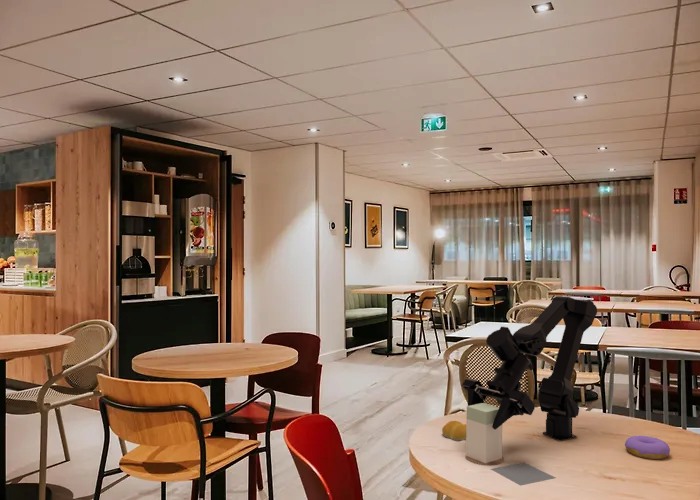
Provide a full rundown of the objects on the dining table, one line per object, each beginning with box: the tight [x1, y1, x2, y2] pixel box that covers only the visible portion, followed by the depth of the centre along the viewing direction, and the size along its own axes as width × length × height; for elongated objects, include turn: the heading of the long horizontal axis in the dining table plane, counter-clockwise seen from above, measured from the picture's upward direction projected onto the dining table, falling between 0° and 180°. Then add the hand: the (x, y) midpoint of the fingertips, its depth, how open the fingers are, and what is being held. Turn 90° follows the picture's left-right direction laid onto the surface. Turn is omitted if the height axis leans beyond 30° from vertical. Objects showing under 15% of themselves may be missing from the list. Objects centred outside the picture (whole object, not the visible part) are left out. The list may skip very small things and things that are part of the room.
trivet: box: [465, 455, 505, 466], centre depth 134 cm, size 9×9×1 cm
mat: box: [490, 461, 557, 486], centre depth 125 cm, size 10×10×1 cm
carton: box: [465, 402, 503, 463], centre depth 134 cm, size 6×6×12 cm
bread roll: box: [441, 420, 466, 442], centre depth 152 cm, size 8×9×4 cm
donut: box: [624, 435, 671, 460], centre depth 139 cm, size 10×9×5 cm
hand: (480, 424), depth 133 cm, fingers open, 8 cm apart
